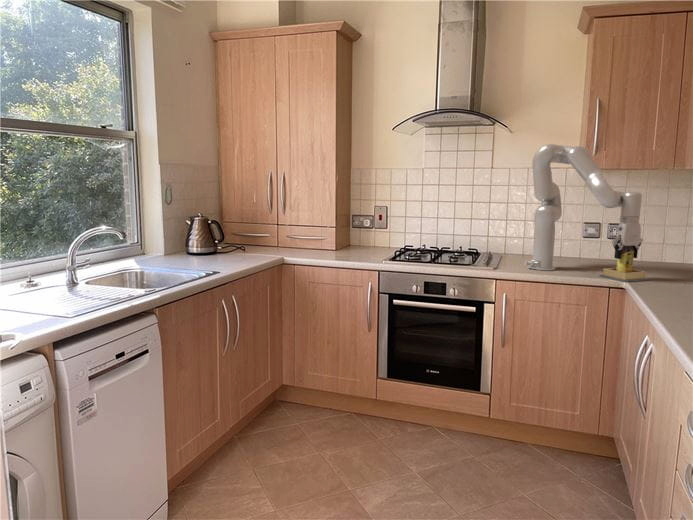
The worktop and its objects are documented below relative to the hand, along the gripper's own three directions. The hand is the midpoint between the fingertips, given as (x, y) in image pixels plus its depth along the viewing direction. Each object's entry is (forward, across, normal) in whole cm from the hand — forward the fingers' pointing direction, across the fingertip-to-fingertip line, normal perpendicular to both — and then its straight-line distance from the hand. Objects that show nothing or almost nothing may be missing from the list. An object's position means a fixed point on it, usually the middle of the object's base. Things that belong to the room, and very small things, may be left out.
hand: (625, 258), depth 236 cm
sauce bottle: (+9, 0, 0) cm, 9 cm away
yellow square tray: (+9, 0, 0) cm, 9 cm away
